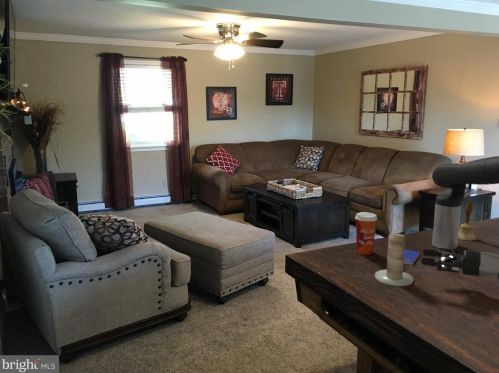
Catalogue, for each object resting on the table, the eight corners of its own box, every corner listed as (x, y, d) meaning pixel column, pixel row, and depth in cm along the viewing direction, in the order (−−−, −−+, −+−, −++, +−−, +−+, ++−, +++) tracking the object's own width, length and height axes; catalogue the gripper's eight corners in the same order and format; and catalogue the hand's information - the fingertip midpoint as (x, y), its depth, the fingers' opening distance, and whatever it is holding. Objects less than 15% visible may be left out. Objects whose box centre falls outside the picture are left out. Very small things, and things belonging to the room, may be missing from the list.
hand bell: (469, 234, 183) (472, 198, 179) (480, 240, 175) (484, 203, 171) (450, 234, 182) (454, 199, 179) (461, 241, 174) (465, 203, 171)
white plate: (377, 268, 146) (377, 267, 146) (414, 274, 141) (414, 272, 141) (372, 282, 135) (372, 280, 135) (411, 289, 130) (412, 287, 130)
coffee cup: (360, 256, 157) (362, 218, 154) (349, 249, 165) (351, 212, 162) (380, 254, 159) (382, 216, 156) (368, 247, 167) (370, 211, 164)
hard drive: (412, 262, 149) (419, 251, 159) (389, 257, 153) (397, 247, 164) (412, 266, 149) (419, 255, 159) (388, 261, 154) (397, 251, 164)
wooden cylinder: (387, 272, 141) (389, 232, 138) (402, 275, 139) (405, 234, 136) (385, 278, 137) (387, 237, 134) (401, 280, 135) (404, 239, 132)
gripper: (480, 245, 132) (424, 238, 138) (483, 260, 119) (422, 252, 126) (477, 267, 133) (422, 259, 140) (480, 285, 121) (420, 275, 127)
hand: (422, 256), depth 133 cm, fingers open, 8 cm apart
